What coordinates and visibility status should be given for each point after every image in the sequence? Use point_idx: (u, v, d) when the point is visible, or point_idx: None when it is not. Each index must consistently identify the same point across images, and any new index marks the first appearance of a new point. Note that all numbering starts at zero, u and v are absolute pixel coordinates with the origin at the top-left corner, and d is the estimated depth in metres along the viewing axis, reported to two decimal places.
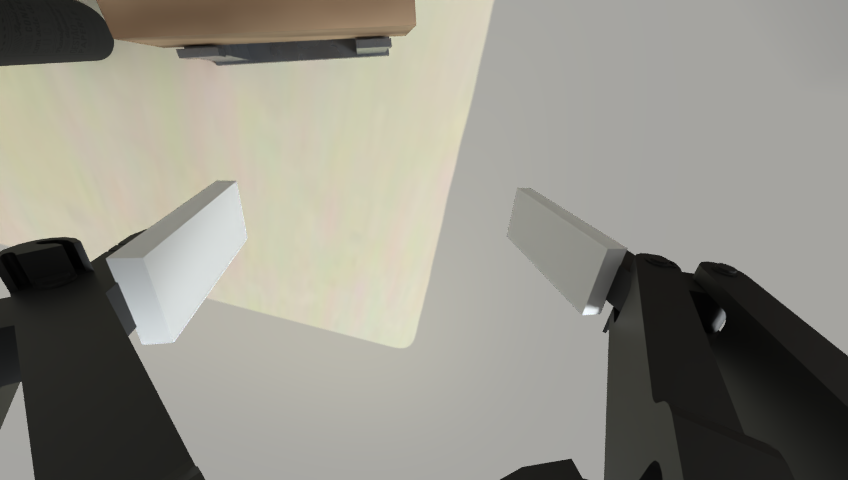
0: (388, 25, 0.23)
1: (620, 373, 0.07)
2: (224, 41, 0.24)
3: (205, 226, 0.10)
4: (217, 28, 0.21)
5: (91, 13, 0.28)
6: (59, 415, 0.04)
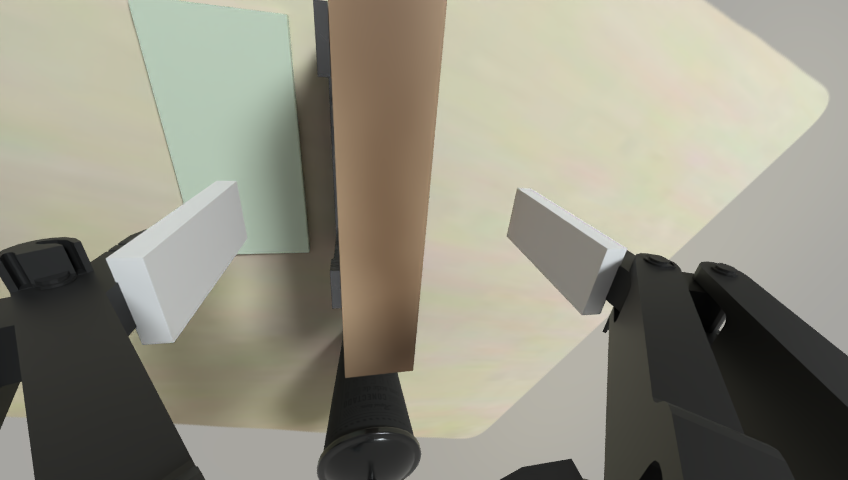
0: (444, 9, 0.11)
1: (620, 373, 0.07)
2: None
3: (205, 226, 0.10)
4: (415, 283, 0.16)
5: None
6: (58, 415, 0.04)
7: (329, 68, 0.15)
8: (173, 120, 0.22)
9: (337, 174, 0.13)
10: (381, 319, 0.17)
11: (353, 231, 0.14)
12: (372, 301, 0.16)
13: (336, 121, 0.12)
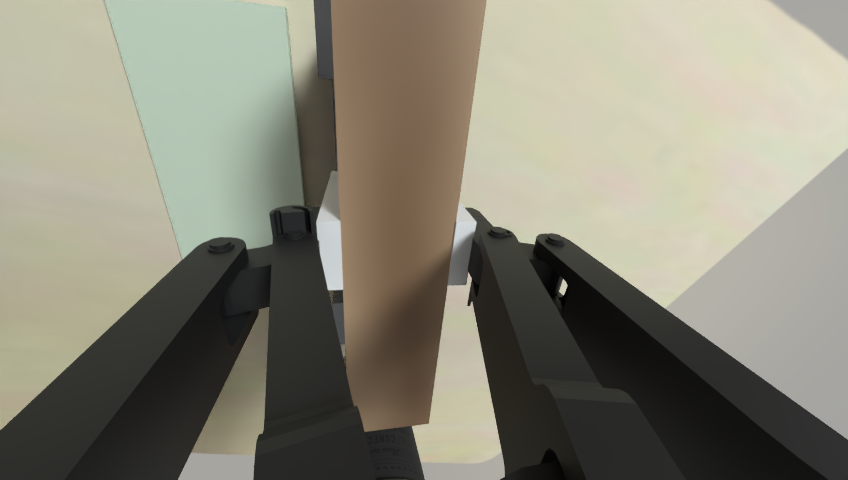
0: None
1: (494, 350, 0.08)
2: None
3: None
4: (435, 328, 0.13)
5: None
6: (284, 328, 0.06)
7: (332, 68, 0.12)
8: (157, 127, 0.19)
9: (341, 203, 0.10)
10: (392, 369, 0.14)
11: (361, 270, 0.11)
12: (382, 350, 0.13)
13: (340, 136, 0.09)
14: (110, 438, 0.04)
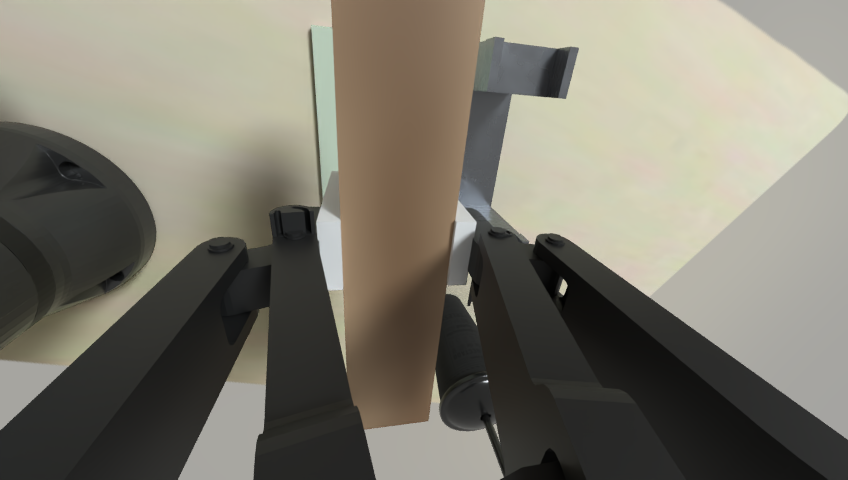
0: None
1: (494, 350, 0.08)
2: None
3: None
4: (434, 327, 0.13)
5: None
6: (283, 328, 0.06)
7: (495, 85, 0.20)
8: (327, 123, 0.27)
9: (341, 202, 0.10)
10: (392, 367, 0.14)
11: (361, 269, 0.11)
12: (382, 348, 0.13)
13: (340, 136, 0.09)
14: (110, 438, 0.04)
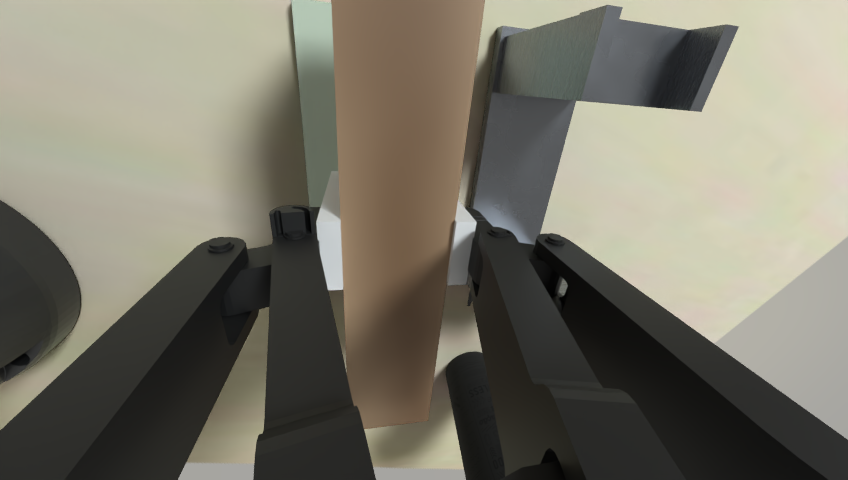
0: None
1: (494, 350, 0.08)
2: None
3: None
4: (434, 326, 0.13)
5: (465, 366, 0.29)
6: (283, 328, 0.06)
7: (596, 90, 0.12)
8: (317, 142, 0.19)
9: (341, 202, 0.10)
10: (392, 367, 0.14)
11: (361, 269, 0.11)
12: (382, 348, 0.13)
13: (340, 136, 0.09)
14: (110, 438, 0.04)
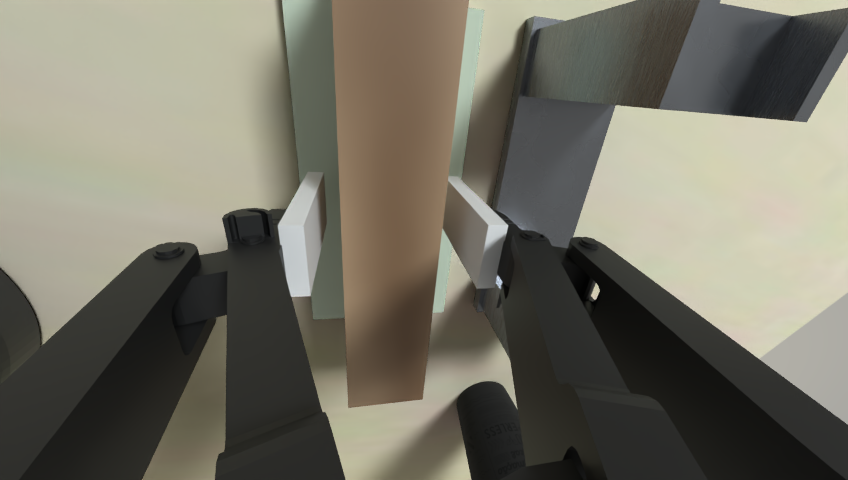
0: (467, 0, 0.09)
1: (520, 351, 0.08)
2: None
3: (316, 207, 0.13)
4: (427, 307, 0.14)
5: (480, 399, 0.26)
6: (243, 339, 0.06)
7: (679, 95, 0.09)
8: (313, 154, 0.16)
9: (341, 189, 0.11)
10: (388, 346, 0.15)
11: (359, 252, 0.12)
12: (379, 328, 0.14)
13: (340, 130, 0.10)
14: (49, 461, 0.04)
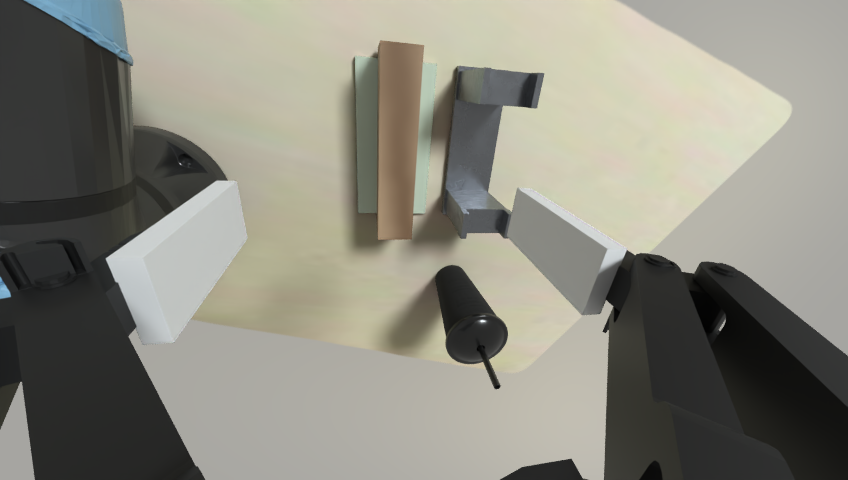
0: (421, 70, 0.30)
1: (620, 373, 0.07)
2: None
3: (205, 226, 0.10)
4: (412, 187, 0.35)
5: (447, 271, 0.46)
6: (59, 415, 0.04)
7: (486, 99, 0.29)
8: (363, 126, 0.37)
9: (379, 133, 0.32)
10: (396, 206, 0.35)
11: (385, 159, 0.33)
12: (392, 196, 0.35)
13: (380, 111, 0.31)
14: None
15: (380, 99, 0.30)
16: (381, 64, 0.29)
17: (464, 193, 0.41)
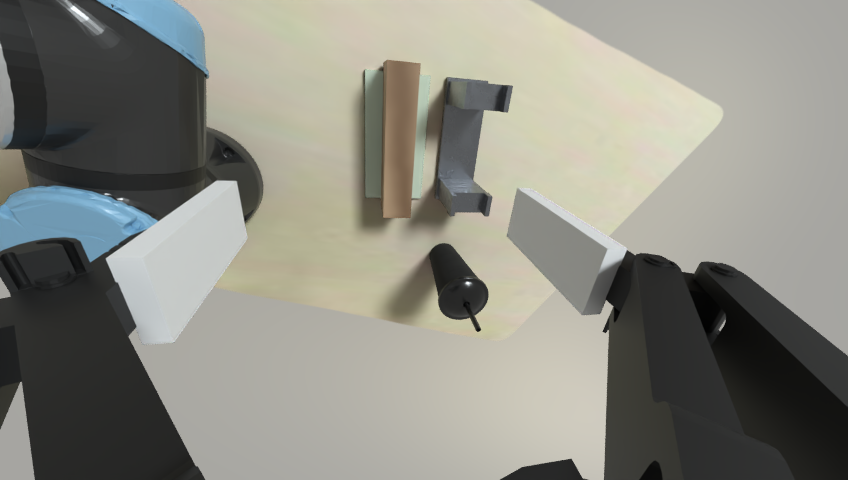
0: (418, 82, 0.38)
1: (620, 373, 0.07)
2: None
3: (205, 226, 0.10)
4: (411, 175, 0.43)
5: (439, 247, 0.55)
6: (59, 415, 0.04)
7: (468, 105, 0.38)
8: (370, 125, 0.45)
9: (385, 131, 0.40)
10: (398, 190, 0.44)
11: (389, 152, 0.41)
12: (395, 182, 0.43)
13: (386, 114, 0.39)
14: None
15: (386, 104, 0.39)
16: (387, 78, 0.37)
17: (453, 181, 0.49)
